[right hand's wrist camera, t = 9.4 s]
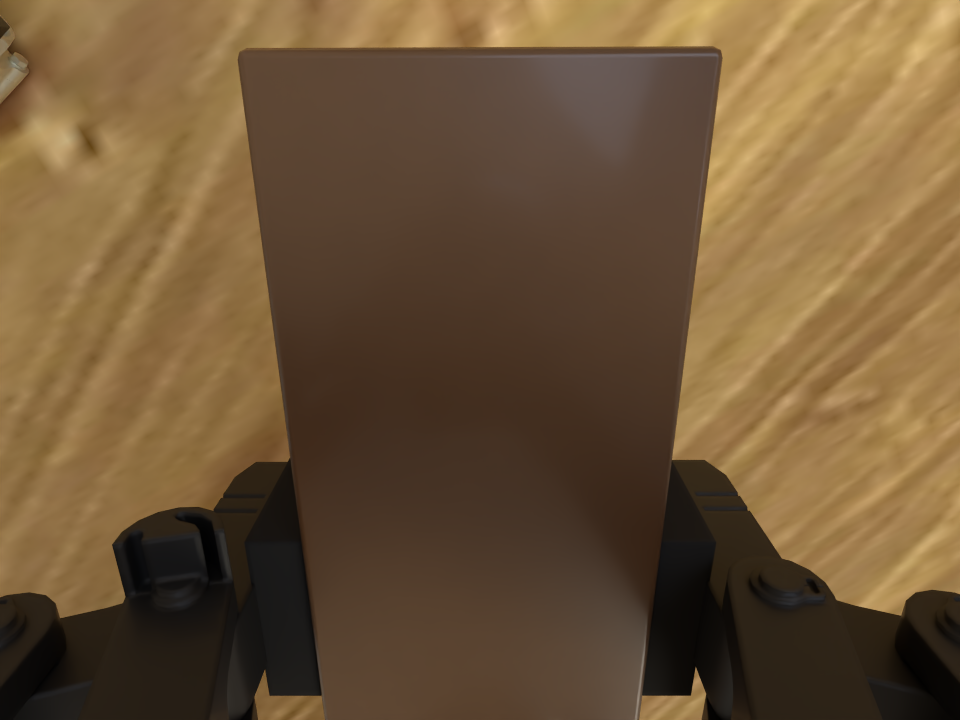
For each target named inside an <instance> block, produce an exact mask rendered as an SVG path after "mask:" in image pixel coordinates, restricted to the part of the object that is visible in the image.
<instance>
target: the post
mask: <svg viewBox="0 0 960 720" xmlns="http://www.w3.org/2000/svg"><path fill="white" fill-rule="evenodd" d="M238 66H239V73H240V81H241V88H242V96H243V104H244V111H245V119H246V126H247V134H248V141H249V149H250V157H251V164H252V172H253V179H254V187H255V194H256V202H257V210H258V217H259V225H260V232H261V240H262V247H263V255H264V262H265V270H266V278H267V285H268V293H269V300H270V308H271V315H272V323H273V331H274V338H275V346H276V353H277V361H278V368H279V376H280V383H281V391H282V399H283V406H284V414H285V421H286V429H287V436H288V444H289V452H290V459H291V467H292V474H293V482H294V489H295V497H296V505H297V512H298V520H299V527H300V535H301V542H302V550H303V557H304V565H305V573H306V580H307V588H308V595H309V603H310V610H311V618H312V626H313V633H314V641H315V648H316V656H317V663H318V671H319V678H320V686H321V694H322V701H323V709H324V716H325V720H639V716H640V708H641V700H642V692H643V685H644V677H645V669H646V661H647V653H648V645H649V637H650V629H651V621H652V613H653V605H654V597H655V589H656V581H657V574H658V566H659V558H660V550H661V542H662V534H663V526H664V518H665V510H666V502H667V494H668V486H669V478H670V470H671V462H672V455H673V447H674V439H675V431H676V423H677V415H678V407H679V399H680V391H681V383H682V375H683V367H684V359H685V351H686V344H687V336H688V328H689V320H690V312H691V304H692V296H693V288H694V280H695V272H696V264H697V256H698V248H699V240H700V233H701V225H702V217H703V209H704V201H705V193H706V185H707V177H708V169H709V161H710V153H711V145H712V137H713V129H714V121H715V114H716V106H717V98H718V90H719V82H720V74H721V66H722V53H721V50H720V49H718V48H715V47H456V48H246V49H244V50H242V51H240V52H239V56H238Z"/></svg>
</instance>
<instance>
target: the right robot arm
mask: <svg viewBox="0 0 960 720" xmlns="http://www.w3.org/2000/svg"><path fill="white" fill-rule="evenodd" d="M112 546H113V550H114V554H115V558H116V561H117V565H118V569H119V573H120V577H121V581H122V584H123V588H124V592H125V596H126V597H125V600H124V602H123V603H122V604H119V605H116V606H112V607H109V608H105V609H100V610H96V611H91V612H87V613H82V614H78V615H73V616H69V617H64V618H60V617H59V613H58V610H57V607H56V604H55V603H54V602H53V601H52V600H51V599H50V598H48V597H47V596H46V595H41V594H35V593H21V594H13V595H6V596H3V597H0V720H258V717H257V710H256V704H255V698H254V696H255V694H256V691H257V688H258V686H259V683H260V681H261V678H262V675H263V673H264V670H266V676H267V682H268V688H269V694H270V696H321V695H322V694H321V686H320V678H319V671H318V663H317V656H316V648H315V641H314V633H313V626H312V618H311V610H310V603H309V595H308V588H307V580H306V573H305V565H304V557H303V550H302V542H301V535H300V527H299V520H298V512H297V505H296V497H295V489H294V482H293V474H292V467H291V459H289V461H288V462H256V463H254V464H253V465H251V466H250V467H249V468H247V469H246V470H244V471H243V472H242V473H240V474H239V475H237V476H236V477H235V478H234V479H233V481H232V482H231V484H230V485H229V487H228V488H227V490H226V491H225V493H224V494H223V498H221V499H220V500H219V502H218V503H217V505H216V506H215V508H214V511H212V510H208V509H204V508H200V507H180V508H175V509H170V510H166V511H161V512H158V513H155V514H153V515H150V516H148V517H146V518H143V519H141V520H139V521H137V522H136V523H134V524H133V525H131V526H130V527H128V528H127V529H126V530H124V531H123V532H122V533H121V534H120V535H119V537H118V538H117V539H116V540H115V542H114V543H113V544H112ZM695 667H696V668H697V671H698V673H699V676H700V679H701V681H702V684H703V686H704V689H705V692H706V698H705V704H704V710H703V715H702V720H960V594H957V593H953V592H945V591H937V590H929V591H923V592H917V593H915V594H913V595H912V596H911V597H910V598H909V599H907V600H906V603H905V606H904V609H903V612H902V615H901V616H899V615H894V614H890V613H885V612H881V611H876V610H872V609H867V608H863V607H858V606H854V605H851V604H847V603H844V602H840V601H837V600H836V599H835V596H834V595H833V593H832V592H831V590H830V589H829V587H828V586H827V584H826V583H825V582H824V581H823V580H822V579H820V578H819V577H818V576H817V575H815V574H814V573H813V572H811V571H810V570H808V569H806V568H804V567H802V566H800V565H798V564H796V563H794V562H792V561H789V560H785V559H782V558H781V557H780V555H779V554H778V552H777V551H776V549H775V548H774V546H773V545H772V543H771V542H770V540H769V539H768V537H767V536H766V534H765V533H764V531H763V530H762V528H761V527H760V525H759V524H758V522H757V521H756V519H755V518H754V516H753V515H752V513H751V512H750V511H748V510H747V506H746V504H745V503H744V501H743V500H742V498H741V497H740V496H738V492H737V491H736V490H735V488H734V487H733V485H732V484H731V482H730V481H729V479H728V478H727V476H726V475H725V474H724V473H722V472H721V471H719V470H718V469H716V468H715V467H714V466H712V465H711V464H709V463H708V462H707V461H705V460H672V462H671V470H670V478H669V486H668V494H667V502H666V510H665V518H664V526H663V534H662V542H661V550H660V558H659V566H658V574H657V581H656V589H655V597H654V605H653V613H652V621H651V629H650V637H649V645H648V653H647V661H646V669H645V677H644V685H643V692H642V696H691V691H692V685H693V679H694V673H695Z"/></svg>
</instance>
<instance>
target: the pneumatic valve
mask: <svg viewBox="0 0 960 720" xmlns="http://www.w3.org/2000/svg"><path fill="white" fill-rule="evenodd" d="M14 39H15V33H14V31H13V29H12V28H11V26H10V25H9V24H8V22H7V21H6V20H5V19H4V18H3V17H2V16H1V15H0V104H1V103H2V102H3V101H4V100H5V98H6V97H7V96H8V95H9V94H10V93H11V92H12V91H13V90H14V89H15V88H16V86H17V85H18V84H19V83H20V82H21V81H22V80H23V79H24V78H25V77H26V76H27V74H28V73H29V69H28V68H27V65H28V63H29V62H28V61H27V60H26V58H25V57H23V56H22V55H21V54H19V53H16V52H14V53H13V54H11V53H10V52H9V51H8V50H7V48H8V47H9V46H10V45H11V43H12V42H13V40H14Z"/></svg>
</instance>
